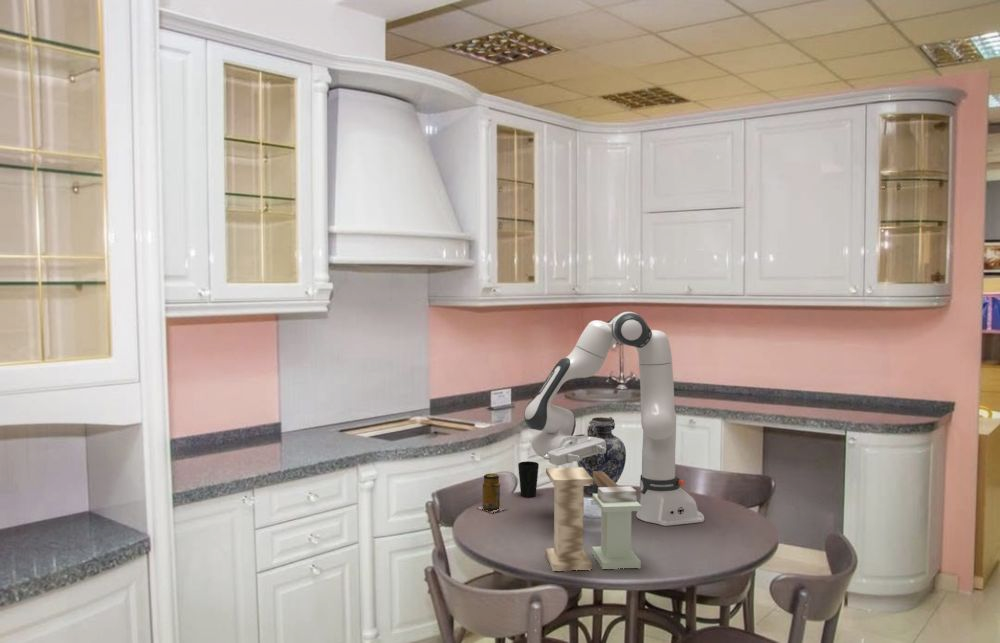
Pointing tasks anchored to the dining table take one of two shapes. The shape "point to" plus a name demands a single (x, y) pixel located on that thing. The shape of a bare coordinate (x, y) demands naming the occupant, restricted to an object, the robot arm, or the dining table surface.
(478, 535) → the dining table surface
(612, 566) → the pedestal low
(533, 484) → the cup
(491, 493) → the condiment
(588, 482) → the pedestal tall
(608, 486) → the mallet
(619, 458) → the decorative vase
